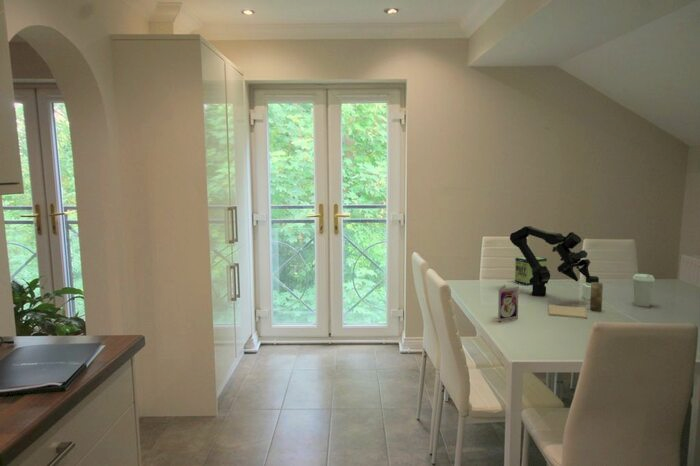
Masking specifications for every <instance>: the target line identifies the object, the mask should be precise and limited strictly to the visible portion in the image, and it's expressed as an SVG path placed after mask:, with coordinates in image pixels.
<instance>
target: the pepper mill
mask: <svg viewBox="0 0 700 466" xmlns="http://www.w3.org/2000/svg"><path fill="white" fill-rule="evenodd" d="M603 286H604V285H603V283H602V282H599V283H598V282H592V283H591V296H590V300H589V310H590V311H591V312H592V311H593V312H601V311H602V310H603V290H604V289H603V288H604V287H603Z"/></svg>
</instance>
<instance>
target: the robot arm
mask: <svg viewBox="0 0 700 466" xmlns="http://www.w3.org/2000/svg"><path fill="white" fill-rule="evenodd" d="M529 236H532V237H535V238H537V239H541V240H544V242H546V243H547V244H549V245H551V246H553V245H555V246H553V247H552V253H555V252H557V253H558V255H559V256H560V261H561V262H562V263H561V264H559V265H558V266H557V269H556V270H557V271H558V273H561V274H563V275H565V276H567V277H569V278H570V279H572V280H574V281H575V282H579V277H578V276H577V274H576V273H575V271H574V268H576V269H577V270H578V271H579V272H580V274H582V275H583V276H584V277H585V279H586V278H588V279H590V276H591V274H590V272H589V266H591V265H590V264H591V261H590V259H587V256H588V252H587V251H586V250H585V249H582V250H580V251H578V252H574V251H572V250H573V249H574V248H575V247H577V246H578V245H579V244H580V243H581V242H582V237H581V236H579V235H578V234H576V233H575V232H573V231H571V232H568V234H567V235H566V236H564V235H563V234H562V233H560V232H550V231H549V232H548V231H545V230H543V229H539V228H535V227H533V226H531V225H526V226H523V227H522V228H520V229H518V230H516V231H514V232H511V233H510V235H509V241H510V242H511V243H512V244H513V245H514V246H515V247H516V248H518V249H519V251H520V252H521V254H522V255H523V257H525V259H526V260H527V262H528V263H529V265H530V267H531V268H532V275H533V277H532V278H531V279H530V280H529V281H530V284H533V285H532V291H531V292H532V293H531V295H532V296H539V297H546V294H547V287H546V284H548V283H549V280H550V279H551V271H549V269H548V267H547V266H541V265H540V264H539V262H538V260H537V259H536V257H535V254H534V252H533V251H532V250H531V248H530V246H529V245H528V237H529Z"/></svg>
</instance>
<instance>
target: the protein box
mask: <svg viewBox="0 0 700 466" xmlns="http://www.w3.org/2000/svg"><path fill="white" fill-rule="evenodd" d="M534 256H535V255H534ZM535 257H536V259H537V260H538V262H539V264H540V265H541V266H546V267H547V259H548V258H547V257H541V256H535ZM514 260H515V264H514V265H515V266H514V267H515V269H514V272H515V273H514V283H516V282H517V284H519V283H520V285H523V284H524V285H523V286H526V285H527V286H533V284H530V281H529V280H530V279H531V278H532V277H533V275H532V268H531V267H530V265H529V263H528V262H527V260H526V259H525V257H524V256H523V257H515V259H514Z"/></svg>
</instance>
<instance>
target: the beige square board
mask: <svg viewBox="0 0 700 466" xmlns="http://www.w3.org/2000/svg"><path fill="white" fill-rule="evenodd" d="M548 316H553V317H556V316H557V317H566V318H567V317H568V318H576V319H577V318H579V319H588V315H587V312H586V308H585V307H577V306H567V305H556V304H555V305H554V304H548Z"/></svg>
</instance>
